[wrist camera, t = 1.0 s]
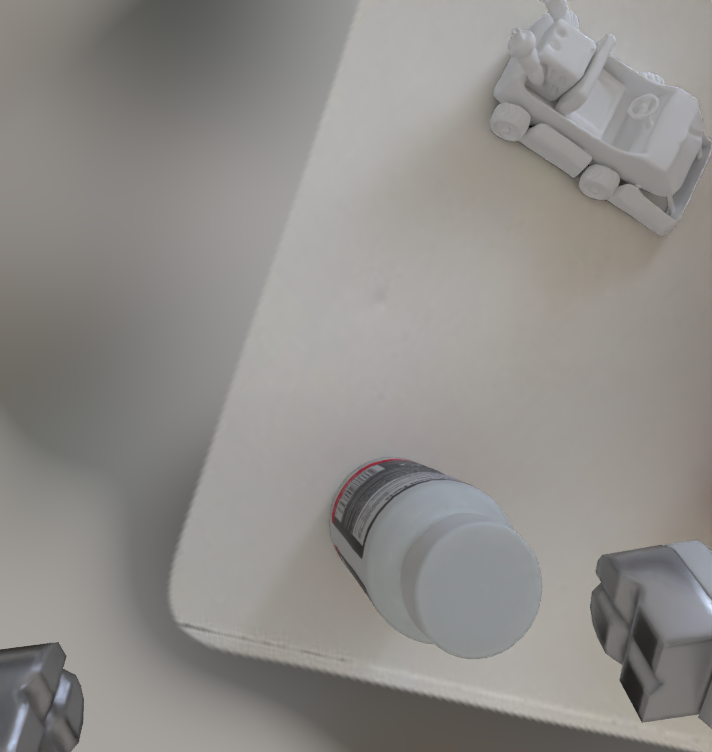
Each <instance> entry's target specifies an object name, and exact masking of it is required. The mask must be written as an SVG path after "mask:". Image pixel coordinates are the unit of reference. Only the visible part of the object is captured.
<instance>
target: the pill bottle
mask: <svg viewBox="0 0 712 752" xmlns="http://www.w3.org/2000/svg"><path fill="white" fill-rule="evenodd" d="M329 526H330V534H331V538H332V542H333V544H334V547H335V549H336V551H337V553H338V555H339V556H340V558H341V560H342V561H343V563H344V564H345V565H346V566H347V568H348V569H349V571H350V572H351V573H352V575H353V576H354V577H355V579H356V580H357V581H358V583H359V584H360V586H361V587H362V589H363V590H364V592H365V593H366V594H367V596H368V597H369V599H370V600H371V602H372V603H373V605H374V606H375V608H376V610H377V611H378V612H379V613H380V615H381V616H382V617H383V618H384V619H385V620H386V621H387V622H388V623H389V624H390V625H391V626H392V627H393V628H395V629H396V630H397V631H399V632H400V633H402V634H403V635H405V636H407V637H409V638H411V639H413V640H416V641H419V642H423V643H428V644H435V645H437V646H438V647H439V648H441V649H442V650H444V651H445V652H447V653H449V654H452V655H454V656H457V657H461V658H466V659H480V658H488V657H491V656H494V655H497V654H500V653H502V652H503V651H505V650H507V649H509V648H510V647H512V646H513V645H514V644H515V643H516V642H517V641H519V640H520V639H521V638H522V637H523V635H524V634H525V633H526V632H527V631H528V629H529V628H530V626H531V625H532V623H533V621H534V619H535V617H536V614H537V612H538V609H539V605H540V601H541V595H542V578H541V570H540V567H539V563H538V561H537V558H536V556H535V554H534V552H533V550H532V549H531V548H530V546H529V545H528V544H527V542H526V541H525V540H524V539H523V538H522V537H521V536H520V535H519V534H517V533H516V532H515V531H514V530H513V527H512V525H511V523H510V521H509V519H508V518H507V516H506V515H505V513H504V512H503V510H502V509H501V508H500V507H499V505H498V504H497V503H496V502H495V501H494V500H493V499H491V498H490V497H489V496H488V495H486V494H485V493H483V492H482V491H480V490H479V489H477V488H476V487H474V486H472V485H469V484H466V483H464V482H461V481H459V480H457V479H454V478H452V477H450V476H447V475H445V474H443V473H440V472H438V471H436V470H434V469H431V468H428V467H426V466H423V465H421V464H418V463H416V462H413V461H410V460H407V459H402V458H381V459H377V460H374V461H371V462H368V463H365V464H364V465H362V466H360V467H358V468H357V469H356V470H354V471H353V472H352V473H351V474H350V475H349V476H348V477H347V478H346V479H345V480H344V481H343V483H342V484H341V486H340V487H339V489H338V491H337V492H336V495H335V497H334V499H333V502H332V505H331V510H330V520H329Z"/></svg>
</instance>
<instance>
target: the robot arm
mask: <svg viewBox="0 0 712 752" xmlns="http://www.w3.org/2000/svg"><path fill="white" fill-rule="evenodd" d="M596 574H597V576H598V577H599V579H600V581H601V583H600V584H599V585H598V586H597V587H596V588H595V589H594V590H593V591H592V596H591V604H590V609H591V615H592V622H593V626H594V629H595V631H596V634H597V637H598V639H599V641H600V643H601V645H602V647H603V649H604V651H605V653H606V654H607V655H609V656H610V657H611V658H613V659H614V660H616V661H617V662H619V663H620V664H622V670H621V676H620V682H621V684H622V686H623V688H624V689H625V691H626V693H627V695H628V697H629V699H630V701H631V703H632V704H633V706H634V708H635V710H636V712H637V714H638V716H639V718H640V720H641V721H642V723H643V722H649V721H656V720H663V719H670V718H677V717H683V716H690V715H697V714H699V717H698V718H700V719H701V720H702V721H703V722H704V723H706V724H707V725H708V726H709V727H711V728H712V552H711V551H710V549H709V548H708V547H707V546H706V545H705V544H704V543H702V542H700V541H699V540H693V541H687V542H680V543H674V544H668V545H664V546H663V545H657V546H651V547H646V548H640V549H634V550H628V551H622V552H617V553H611V554H605V555H602V556H601V557H600V558H599V560H598V562H597V567H596ZM65 660H66V655H65V653H64V651H63V649H62V648H61V646H60V644H59V642H56V643H47V644H40V645H32V646H24V647H16V648H9V649H1V650H0V752H71V751H72V750H73V748H74V747H75V746H76V745H77V744H78V742H79V738H80V734H81V729H82V725H83V711H84V698H83V693H82V688H81V685H80V683H79V681H78V678H77V676H76V675H75V674H73V673H71V672H69V671H67V670H65V669H63V667H64V663H65Z"/></svg>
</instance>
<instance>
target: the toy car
mask: <svg viewBox="0 0 712 752" xmlns="http://www.w3.org/2000/svg"><path fill="white" fill-rule="evenodd" d="M540 1H541V2H543V3H545V6H546V8H547V9H548V12H547V13H546V14H544V15H543V16H542V17H541V18H540V19H538V20H537V21H536V22H535V23H534V24H533V25H532V26H531V27H530V28H529V29H528V30H521V29H519V28H514V29H513V30H512V37H511V39H510V41H509V43H508V49H509V52H510V54H511V58H510V60H509V62H508V64H507V66H506V68H505V70H504V72H503V73H502V75H501V77H500V79H499V81H498V82H497V84H496V86H495V89H494V91H493V94H494V97H495V98H496V99H497V100H498V101H499V102H500V103H501V104H499V105H498V106H497V107H496V109H495V111H494V113H493V115H492V117H491V120H490V127H491V130H492V131H493V132H494V133H495V134H496V135H497V136H498V137H500V138H501V139H504V140H507V141H519V142H521V143H522V144H524V145H525V146H526V147H528V148H529V149H531V150H532V151H534V152H535V153H537V154H538V155H540V156H541V157H543V158H544V159H546V160H547V161H549V162H551V163H552V164H554V165H555V166H557V167H558V168H560V169H561V170H563V171H564V172H566V173H567V174H569V175H570V176H571V177H573V178H575V177H576V176H577V175H578V174H579V173H580V172H582V171H583V170H584V169H585V168H586V167H587V166H588V165H589V166H588V167H587V168H586V169H585V170H584V172H583V174H582V176H581V178H580V181H579V188H580V190H581V191H582V192H583V193H584V194H585V195H586V196H588V197H590V198H593V199H597V200H606V199H607V200H608V201H610V202H611V203H613V204H614V205H615V206H617V207H618V208H620V209H621V210H623V211H625V212H626V213H628V214H630V215H631V216H632V217H634V218H635V219H636V220H638V221H639V222H641V223H642V224H644V225H645V226H646V227H648V228H649V229H651V230H652V231H654V232H655V233H656V234H658V235H661V236H663V235H665V234H667V233H669V232H670V231H671V230H672V229H673V228H674V227H675V226H676V225H677V223H678V222H679V220H680V218H681V216H682V214H683V212H684V211H685V209H686V207H687V205H688V203H689V201H690V199H691V197H692V195H693V192H694V190H695V188H696V185H697V183H698V181H699V179H700V178H701V176H702V174H703V171H704V170H705V168H706V166H707V163H708V161H709V159H710V156H711V154H712V139H711V138H710V137H709V136H708V135H707V134H705V133H704V131H705V128H704V122H703V118H702V116H701V113H700V108H699V103H698V101H697V99H696V98H694V97H693V96H692V95H690V94H689V93H687V92H686V91H684V90H682V89H681V88H679V87H676V86H669V85H665V82H664V80H663V79H662V78H661V77H660V76H659V75H657V74H654V73H651V72H639V73H638V72H637V71H635V70H634V69H632V68H631V67H629V66H627V65H626V64H624V63H623V62H621V61H620V60H619V59H617V58H616V57H614V56H613V55H612V54H610V53H611V51H612V49H613V47H614V45H615V43H616V38H615V37H614V36H613V35H611V34H606V35H605V37H603V38H602V39H601V40H600V41H599V42H597V43H595V42H594V41H593V40H592V39H590V38H589V37H587V36H586V35H584V34H583V33H582V32H581V31H579V30H578V28H579V20H578V18H577V16H576V15H575V14H574V13H573V12H572V11H570V10H568V5H567V2H566V0H540ZM529 125H532V126H533V127H531V128H528V127H529ZM620 179H622V180H624V181H626V182H628V183H630V184H625V185H621V186H618V185H619V182H620ZM631 184H632V185H631ZM633 185H634V186H633ZM640 188H641V189H643V190H645V191H648V192H650V193H652V194H654V195H657V196H661V197H667V202H668V210H667V212H666V213H665V212H664V211H663V210H661V209H660V208H659V207H658V206H657V205H655V204H654V203H652V202H651V201H650V200H649V199H648V198H646V197H645V196H644V195H643V194H642V193H641V192H640V190H639V189H640ZM675 192H676V193H675ZM674 194H675V195H674ZM673 195H674V197H673Z"/></svg>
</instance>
